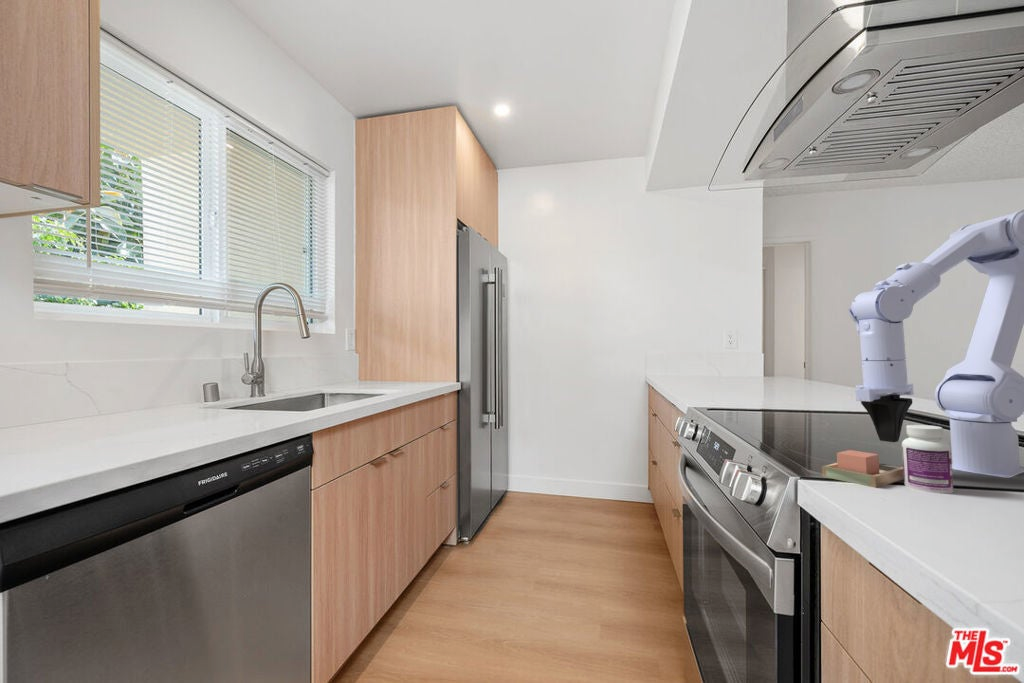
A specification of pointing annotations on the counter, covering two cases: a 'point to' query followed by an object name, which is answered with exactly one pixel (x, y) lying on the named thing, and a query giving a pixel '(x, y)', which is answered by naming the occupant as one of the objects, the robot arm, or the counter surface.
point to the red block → (858, 462)
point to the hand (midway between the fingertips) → (888, 441)
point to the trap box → (865, 475)
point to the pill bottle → (927, 460)
